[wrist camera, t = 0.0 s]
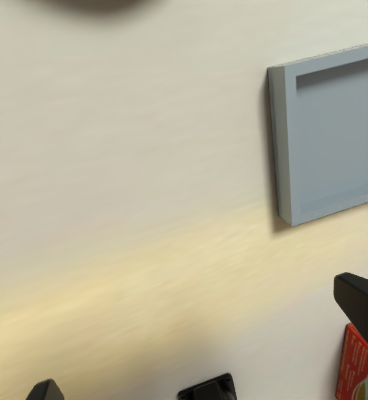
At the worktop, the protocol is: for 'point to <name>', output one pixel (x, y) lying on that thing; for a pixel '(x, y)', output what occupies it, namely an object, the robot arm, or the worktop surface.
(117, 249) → the worktop surface
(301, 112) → the tray
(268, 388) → the worktop surface
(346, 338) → the medicine box
